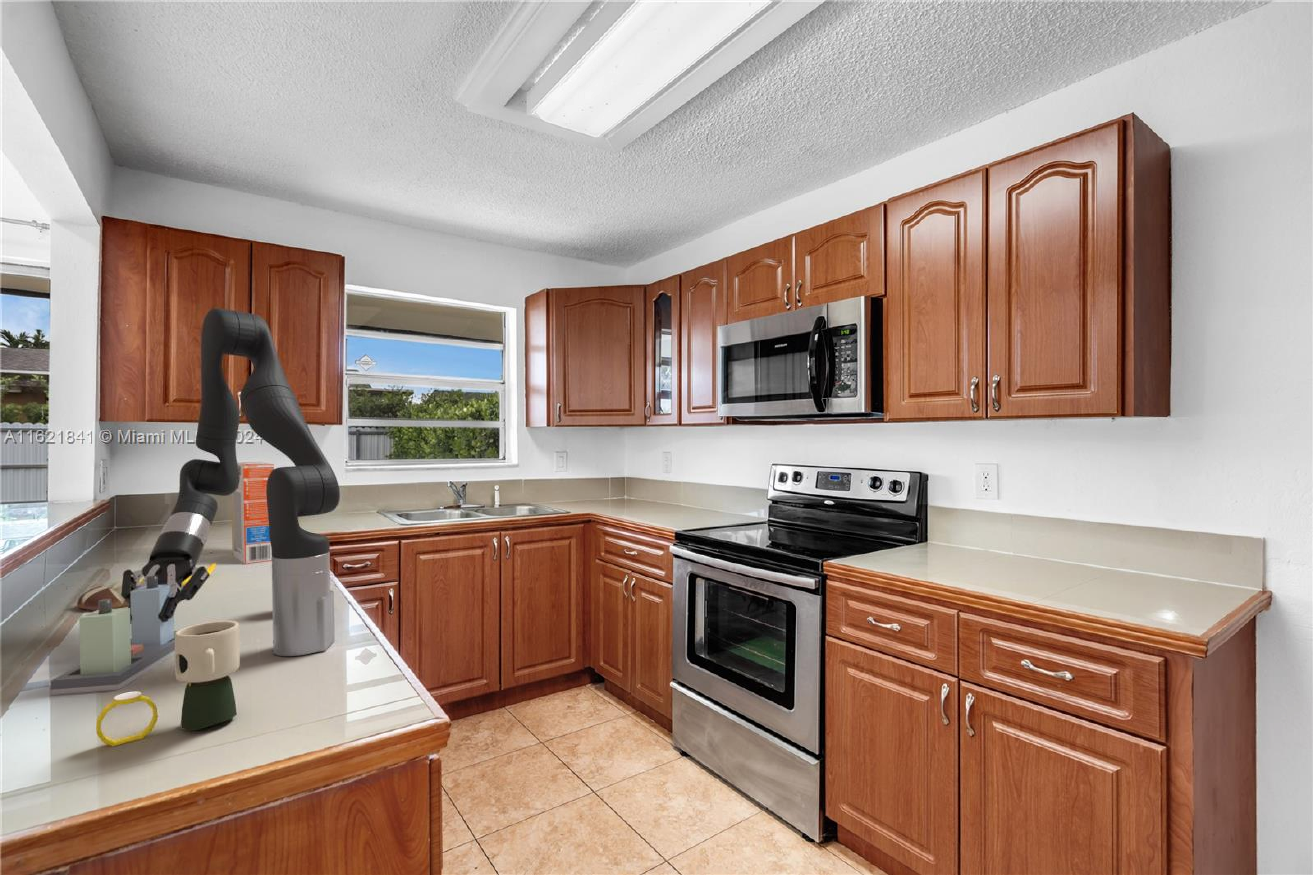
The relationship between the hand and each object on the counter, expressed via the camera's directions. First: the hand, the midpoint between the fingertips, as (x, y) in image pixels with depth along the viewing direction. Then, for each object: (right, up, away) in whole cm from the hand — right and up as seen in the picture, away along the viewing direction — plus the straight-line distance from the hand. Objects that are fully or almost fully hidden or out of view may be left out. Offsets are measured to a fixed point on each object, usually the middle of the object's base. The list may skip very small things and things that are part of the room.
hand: (146, 620), depth 113 cm
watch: (+23, -7, -31) cm, 39 cm away
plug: (0, -5, +2) cm, 5 cm away
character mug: (+30, -6, -27) cm, 41 cm away
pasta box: (-38, -6, +90) cm, 98 cm away
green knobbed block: (+2, -6, -11) cm, 12 cm away
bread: (-36, -7, +34) cm, 50 cm away
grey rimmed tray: (+1, -6, -5) cm, 8 cm away
